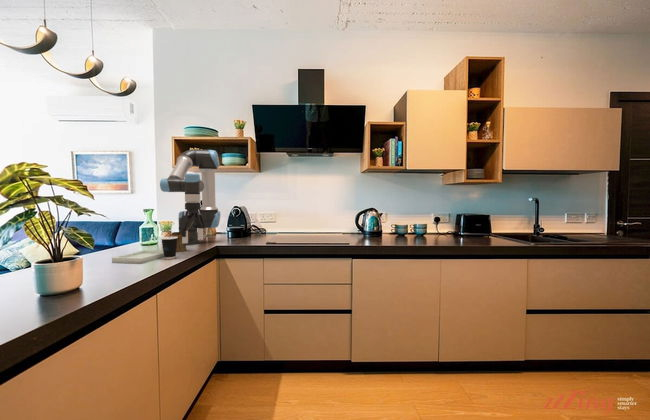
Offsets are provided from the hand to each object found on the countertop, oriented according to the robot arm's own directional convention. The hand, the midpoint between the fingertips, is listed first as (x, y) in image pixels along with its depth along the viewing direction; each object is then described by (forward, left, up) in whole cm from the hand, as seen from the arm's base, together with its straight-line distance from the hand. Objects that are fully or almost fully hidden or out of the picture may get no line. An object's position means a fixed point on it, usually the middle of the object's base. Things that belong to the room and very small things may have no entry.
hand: (193, 241), depth 152 cm
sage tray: (+12, -20, -8) cm, 24 cm away
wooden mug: (-12, -15, -8) cm, 20 cm away
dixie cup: (+8, -8, -8) cm, 14 cm away
